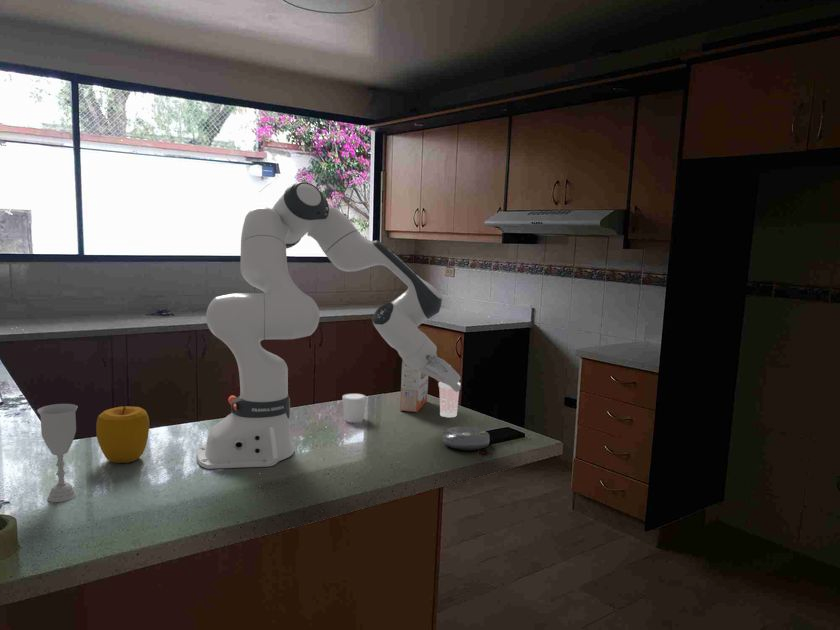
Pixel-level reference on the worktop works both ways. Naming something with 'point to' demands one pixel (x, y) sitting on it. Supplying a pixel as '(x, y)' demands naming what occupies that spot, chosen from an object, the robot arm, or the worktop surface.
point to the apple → (123, 433)
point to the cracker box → (413, 389)
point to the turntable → (466, 438)
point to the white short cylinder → (354, 407)
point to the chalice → (59, 443)
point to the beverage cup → (448, 400)
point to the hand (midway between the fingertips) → (451, 386)
